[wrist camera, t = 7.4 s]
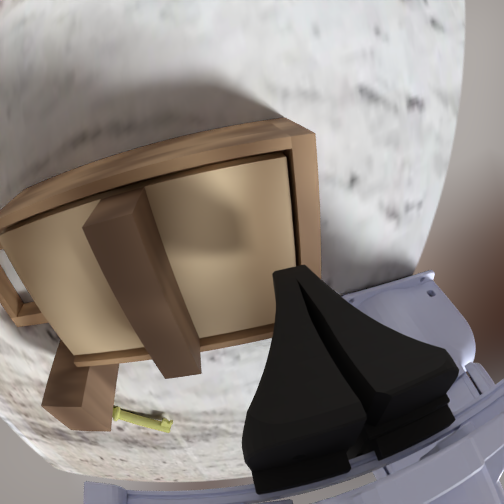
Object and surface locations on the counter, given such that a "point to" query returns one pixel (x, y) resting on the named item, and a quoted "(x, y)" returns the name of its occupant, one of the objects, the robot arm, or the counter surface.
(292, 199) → the wooden tray
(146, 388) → the counter surface
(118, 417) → the key
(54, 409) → the brown wooden block
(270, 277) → the lid
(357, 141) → the counter surface
